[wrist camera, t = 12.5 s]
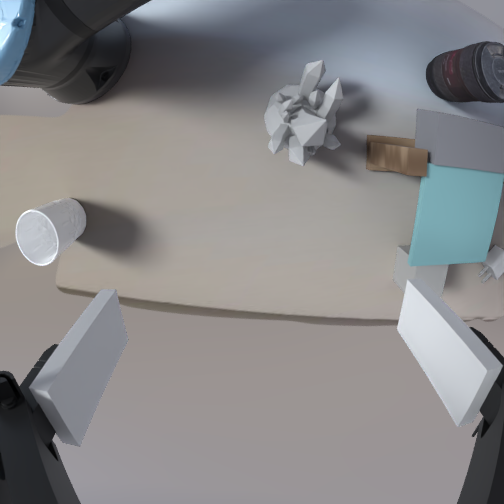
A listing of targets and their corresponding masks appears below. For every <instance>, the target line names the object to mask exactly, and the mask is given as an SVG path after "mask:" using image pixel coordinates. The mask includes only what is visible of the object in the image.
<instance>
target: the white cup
mask: <svg viewBox="0 0 504 504" xmlns="http://www.w3.org/2000/svg"><path fill="white" fill-rule="evenodd" d="M85 227H86V214H85V212H84V209H83V207H82V206H81V205H80V204H79V203H78V201H76V200H74V199H71V198H64V199H60V200H56V201H53V202H50V203H47V204H44V205H41V206H39V207H36V208H33V209H31V210H28V211H26V212H24V213H23V214H22V215H21V216H20V218H19V219H18V222H17V225H16V240H17V243H18V246H19V248H20V250H21V252H22V254H23V255H24V256H25V257H26V258H27V259H28V260H29V261H30V262H32V263H33V264H36V265H39V266H45V265H48V264H50V263H52V261H54V260H55V259H56V258H57V257H58V256H59V255H60V254H61V253H62V252H64V251H65V250H66V249H67V248H68V247H69V246H70V245H71V244H72V243H73V242H74V241H75V240H76V239H77V238H78V237H79V236H80V235H81V234H82V233H83V232H84V229H85Z"/></svg>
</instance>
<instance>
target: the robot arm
mask: <svg viewBox="0 0 504 504" xmlns="http://www.w3.org/2000/svg"><path fill="white" fill-rule="evenodd" d="M149 1H151V0H0V85H1V86H21V87H33V88H42V90H44V91H45V92H46V93H47V94H48V95H49V96H50V97H51V98H53V99H54V100H56V101H59V102H62V103H68V104H83V103H87V102H90V101H93V100H95V99H97V98H99V97H101V96H102V95H104V94H105V93H106V92H107V91H109V90H110V89H111V88H112V87H113V86H114V85H115V83H116V82H117V81H118V80H119V78H120V77H121V75H122V74H123V72H124V70H125V68H126V66H127V63H128V60H129V56H130V51H131V40H130V35H129V32H128V29H127V27H126V26H125V24H124V23H123V22H122V21H121V20H120V18H121V17H123V16H124V15H126V14H128V13H130V12H131V11H133V10H135V9H137V8H138V7H140V6H142V5H144V4H146V3H147V2H149ZM397 330H398V332H399V333H400V335H401V336H402V338H403V339H404V341H405V342H406V344H407V345H408V347H409V348H410V350H411V351H412V353H413V355H414V356H415V358H416V359H417V361H418V362H419V364H420V366H421V367H422V369H423V370H424V372H425V374H426V375H427V377H428V378H429V380H430V382H431V383H432V385H433V387H434V388H435V390H436V391H437V393H438V395H439V396H440V398H441V400H442V401H443V403H444V405H445V407H446V408H447V410H448V412H449V413H450V415H451V417H452V418H453V420H454V422H455V424H456V426H457V427H460V426H463V425H466V424H468V423H471V422H473V421H474V419H475V417H476V416H477V414H478V412H479V411H480V412H481V413H482V415H483V418H482V420H481V421H480V423H479V425H478V426H477V428H476V430H475V431H474V433H473V434H472V437H474V436H475V435H476V433H477V432H478V434H477V438H476V443H475V447H474V451H473V455H472V458H471V462H470V465H469V469H468V472H467V476H466V479H465V482H464V485H463V488H462V491H461V494H460V497H459V499H458V502H457V504H504V357H503V356H502V355H501V354H500V353H499V352H498V351H497V349H496V348H494V347H493V345H492V344H491V343H490V342H488V339H487V338H486V337H485V336H484V335H483V334H482V333H481V332H479V331H478V330H476V329H474V328H473V327H468V326H467V325H466V324H465V323H464V322H463V321H462V319H461V318H460V317H459V316H458V315H457V314H456V313H455V312H454V311H453V310H452V309H451V308H450V307H449V306H448V305H447V304H446V303H445V302H444V301H443V300H442V299H441V298H440V297H439V296H438V295H437V294H436V293H435V292H434V291H433V290H432V289H431V288H430V287H429V286H428V285H427V284H426V283H425V282H424V281H423V280H422V279H421V278H420V279H407V284H406V289H405V295H404V300H403V305H402V309H401V314H400V318H399V323H398V327H397ZM127 342H128V336H127V332H126V329H125V325H124V321H123V317H122V313H121V309H120V304H119V300H118V296H117V291H116V289H101V290H100V292H99V293H98V294H97V295H96V297H95V298H94V300H92V302H91V303H90V304H89V306H88V307H87V308H86V309H85V311H84V312H83V313H82V315H81V316H80V317H79V318H78V320H77V321H76V322H75V324H74V325H73V327H72V328H71V329H70V330H69V332H68V333H67V335H66V336H65V337H64V338H63V340H62V341H61V343H60V344H59V345H57V344H54V345H53V346H51V347H50V348H49V349H47V350H46V351H45V352H44V353H43V354H42V356H41V357H40V359H39V361H37V363H36V364H35V365H34V368H32V370H31V371H30V372H29V374H28V375H27V377H26V378H25V379H24V381H23V382H22V384H21V385H20V387H19V385H18V384H17V382H16V380H15V378H14V376H13V374H12V373H10V372H7V371H0V504H81V503H80V501H79V499H78V497H77V495H76V493H75V491H74V488H73V486H72V484H71V482H70V480H69V477H68V475H67V473H66V470H65V468H64V466H63V463H62V461H61V458H60V455H59V453H58V450H57V447H56V445H55V444H54V442H53V441H52V439H53V437H54V435H55V433H56V434H57V435H58V437H59V438H60V439H61V441H62V442H63V443H66V444H71V445H75V446H79V447H80V445H81V443H82V440H83V438H84V436H85V433H86V431H87V429H88V426H89V424H90V422H91V419H92V417H93V414H94V412H95V410H96V408H97V406H98V403H99V401H100V399H101V397H102V394H103V392H104V390H105V388H106V386H107V383H108V381H109V379H110V377H111V375H112V373H113V371H114V369H115V367H116V364H117V362H118V360H119V358H120V356H121V354H122V352H123V350H124V348H125V346H126V344H127Z"/></svg>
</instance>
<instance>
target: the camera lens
mask: <svg viewBox="0 0 504 504" xmlns="http://www.w3.org/2000/svg"><path fill="white" fill-rule="evenodd" d="M426 79H427V83H428V85H429V87H430V89H431V90H432V92H433V93H434V94H435V95H437V96H438V97H440V98H442V99H445V100H447V101H452V102H472V101H481V102H487V103H503V102H504V46H503V45H502V44H501V43H497V42H489V41H485V42H480V43H476V44H472V45H469V46H467V47H465V48H462V49H458V50H454V51H449V52H445V53H443V54H441V55H439V56H437V57H435V58H434V59H433V60H432V61H431V62H430V63H429V64H428V66H427V69H426Z"/></svg>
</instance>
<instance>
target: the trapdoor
mask: <svg viewBox="0 0 504 504" xmlns="http://www.w3.org/2000/svg"><path fill="white" fill-rule="evenodd" d="M415 148H420V149H426V150H428V158H427V176H426V177H425V176H421V184H420V191H419V199H418V206H417V212H416V219H415V225H414V230H413V236H412V241H411V247H410V252H409V257H408V262H407V263H408V264H409V265H410V267H411V266H428V265H444V264H460V263H474V262H485V260H486V257H487V253H488V250H489V246H490V242H491V238H492V234H493V230H494V226H495V222H496V217H497V213H498V208H499V203H500V198H501V192H502V187H503V181H504V127H501V126H497V125H494V124H490V123H486V122H482V121H478V120H474V119H469V118H465V117H460V116H455V115H451V114H446V113H440V112H435V111H428V110H422V109H417V120H416V137H415Z"/></svg>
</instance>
